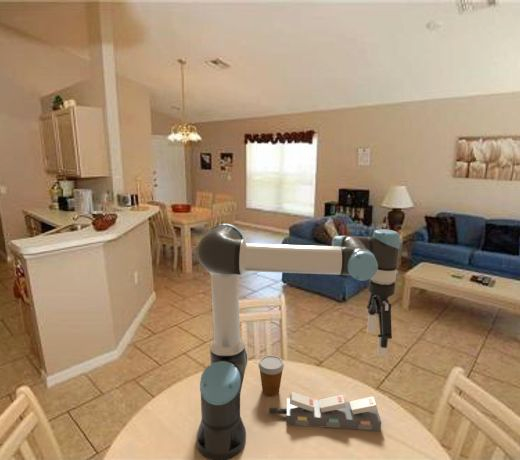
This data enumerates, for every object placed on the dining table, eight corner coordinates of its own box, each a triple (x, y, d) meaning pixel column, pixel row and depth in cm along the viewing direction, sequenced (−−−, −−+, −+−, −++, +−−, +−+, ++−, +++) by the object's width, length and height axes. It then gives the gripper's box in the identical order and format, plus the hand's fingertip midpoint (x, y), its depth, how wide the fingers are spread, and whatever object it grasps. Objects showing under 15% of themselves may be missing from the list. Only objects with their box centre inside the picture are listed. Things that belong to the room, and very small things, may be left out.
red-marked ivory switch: (289, 403, 113) (291, 399, 112) (289, 395, 116) (291, 391, 116) (312, 412, 113) (315, 407, 112) (312, 403, 116) (314, 398, 116)
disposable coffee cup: (281, 401, 123) (282, 371, 120) (255, 397, 124) (255, 368, 122) (285, 384, 132) (285, 356, 129) (260, 380, 134) (261, 353, 131)
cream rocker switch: (353, 414, 111) (351, 409, 111) (350, 405, 115) (349, 401, 115) (377, 409, 110) (376, 404, 110) (374, 400, 114) (373, 395, 114)
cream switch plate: (321, 412, 112) (320, 407, 112) (320, 403, 116) (319, 399, 116) (346, 407, 111) (344, 402, 111) (344, 399, 115) (342, 394, 115)
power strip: (268, 424, 112) (268, 412, 111) (269, 405, 120) (269, 394, 119) (380, 432, 109) (382, 419, 108) (374, 412, 117) (375, 401, 116)
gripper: (408, 297, 92) (400, 367, 97) (383, 267, 116) (378, 325, 121) (380, 296, 93) (373, 366, 97) (361, 266, 117) (356, 323, 122)
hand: (376, 343), depth 109 cm, fingers open, 13 cm apart
